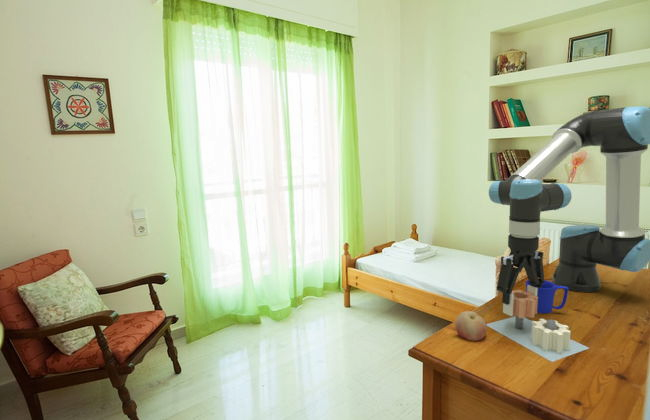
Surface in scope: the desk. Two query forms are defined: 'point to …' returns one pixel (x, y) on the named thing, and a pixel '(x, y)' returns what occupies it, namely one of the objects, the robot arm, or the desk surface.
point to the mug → (548, 296)
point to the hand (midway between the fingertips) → (519, 310)
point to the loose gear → (524, 304)
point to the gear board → (522, 333)
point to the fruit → (470, 326)
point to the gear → (550, 336)
